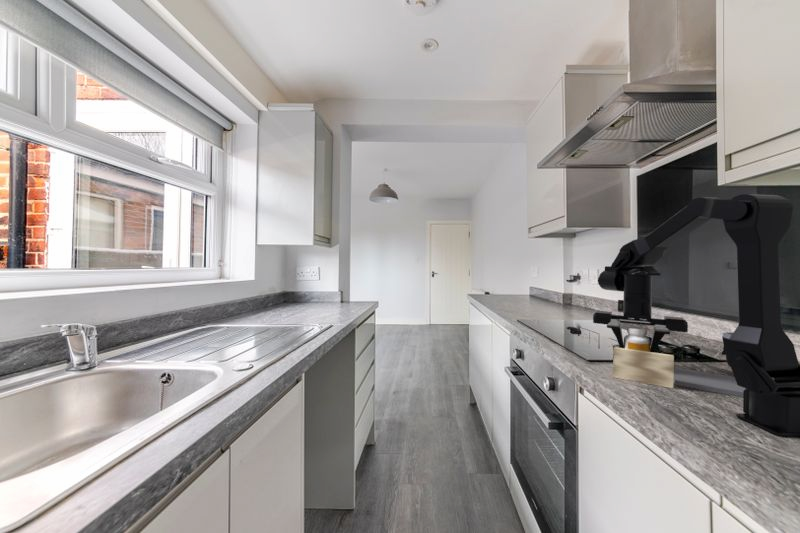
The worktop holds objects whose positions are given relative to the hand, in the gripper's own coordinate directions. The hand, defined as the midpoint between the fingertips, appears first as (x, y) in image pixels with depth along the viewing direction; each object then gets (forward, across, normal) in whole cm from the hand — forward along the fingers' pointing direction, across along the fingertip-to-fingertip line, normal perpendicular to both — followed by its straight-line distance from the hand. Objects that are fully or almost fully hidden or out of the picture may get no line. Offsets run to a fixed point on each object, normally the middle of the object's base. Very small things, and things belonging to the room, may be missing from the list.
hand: (636, 354), depth 80 cm
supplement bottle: (+3, 0, 0) cm, 3 cm away
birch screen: (+4, -1, +8) cm, 9 cm away
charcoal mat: (+4, -13, 0) cm, 14 cm away
